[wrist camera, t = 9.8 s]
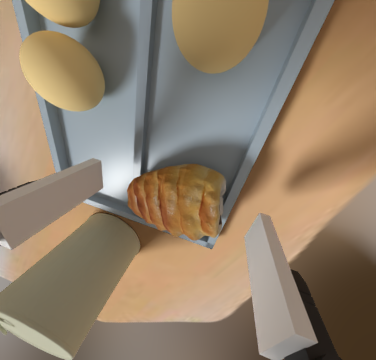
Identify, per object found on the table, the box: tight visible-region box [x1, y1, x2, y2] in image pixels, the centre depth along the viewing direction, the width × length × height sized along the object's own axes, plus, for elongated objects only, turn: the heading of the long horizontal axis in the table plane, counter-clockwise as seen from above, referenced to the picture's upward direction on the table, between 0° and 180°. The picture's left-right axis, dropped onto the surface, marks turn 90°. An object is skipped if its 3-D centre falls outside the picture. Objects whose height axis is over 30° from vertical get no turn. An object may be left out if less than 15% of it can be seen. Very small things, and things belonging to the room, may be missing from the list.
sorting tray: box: [12, 0, 335, 249], centre depth 13 cm, size 20×22×2 cm
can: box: [0, 213, 140, 360], centre depth 18 cm, size 9×9×12 cm
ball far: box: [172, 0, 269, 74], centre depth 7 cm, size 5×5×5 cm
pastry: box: [127, 164, 226, 241], centre depth 13 cm, size 9×7×4 cm
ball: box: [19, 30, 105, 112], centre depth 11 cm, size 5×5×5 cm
